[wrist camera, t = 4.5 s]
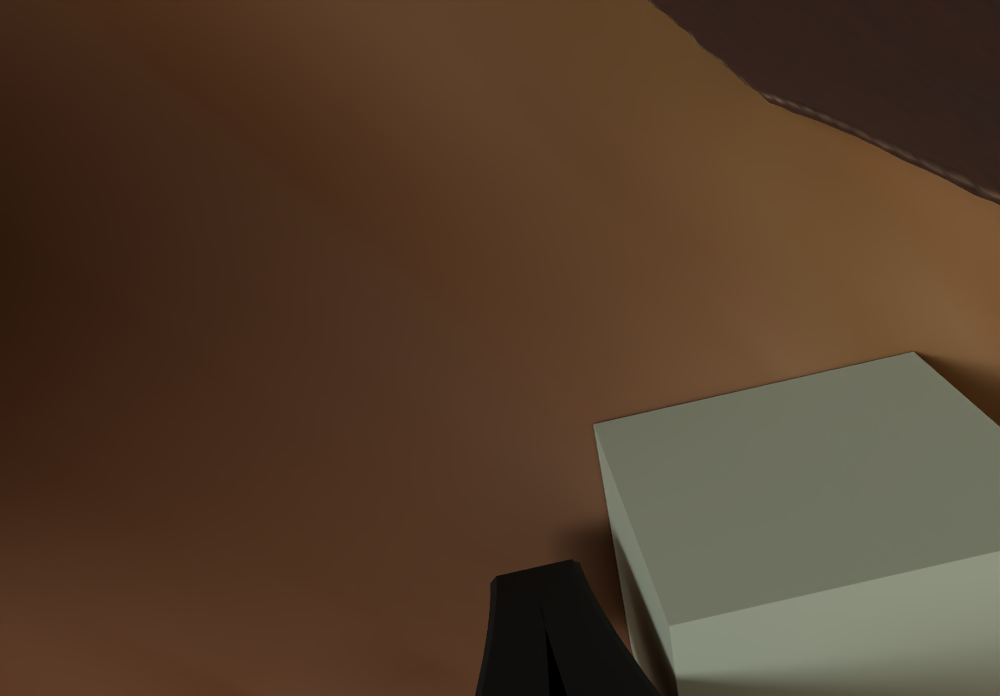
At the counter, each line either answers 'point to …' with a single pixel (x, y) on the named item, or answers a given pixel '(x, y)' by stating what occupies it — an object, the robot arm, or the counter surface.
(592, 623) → the robot arm
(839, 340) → the counter surface
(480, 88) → the counter surface
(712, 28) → the letter holder
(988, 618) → the block
